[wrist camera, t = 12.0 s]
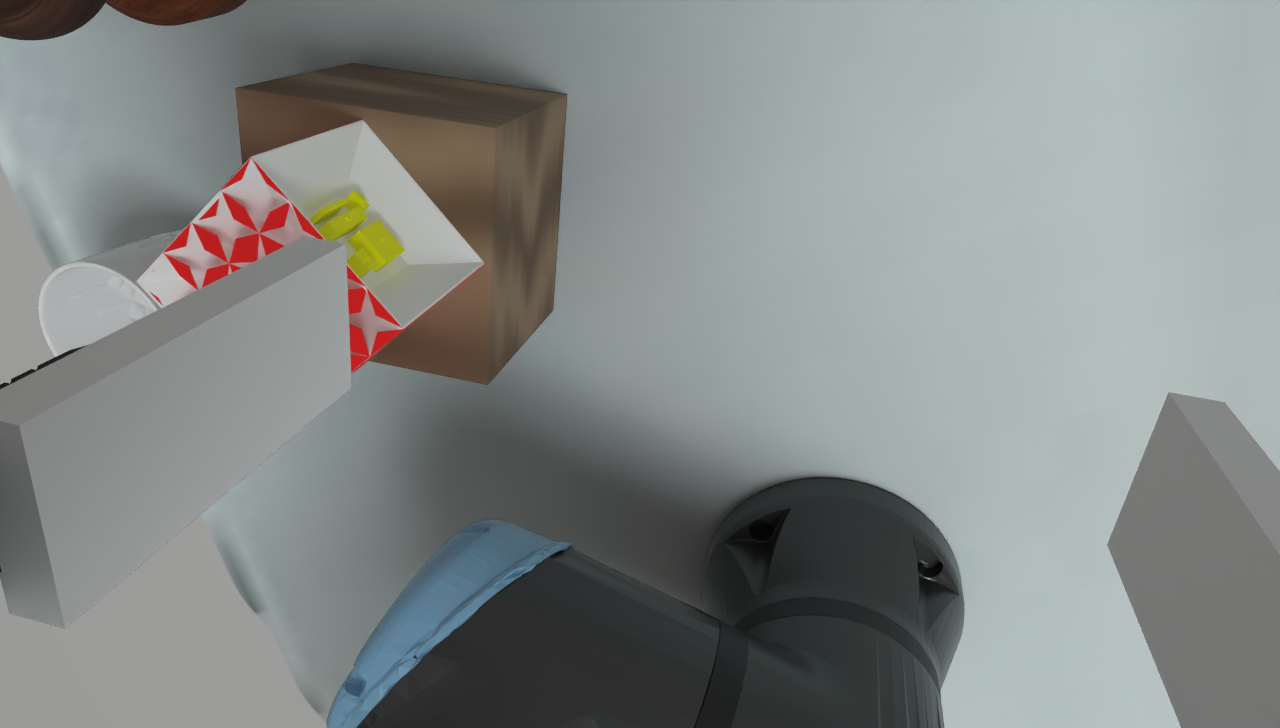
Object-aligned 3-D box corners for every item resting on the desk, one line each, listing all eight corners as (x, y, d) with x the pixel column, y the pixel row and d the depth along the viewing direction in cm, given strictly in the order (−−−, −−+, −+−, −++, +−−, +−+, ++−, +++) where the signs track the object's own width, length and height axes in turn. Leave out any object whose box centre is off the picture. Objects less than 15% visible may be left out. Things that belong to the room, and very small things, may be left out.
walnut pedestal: (553, 310, 51) (487, 384, 43) (359, 274, 53) (258, 338, 44) (567, 94, 46) (495, 127, 37) (352, 63, 48) (235, 88, 39)
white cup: (245, 195, 53) (120, 244, 44) (306, 316, 55) (199, 386, 47) (146, 231, 56) (9, 284, 47) (208, 345, 58) (89, 416, 49)
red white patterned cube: (485, 263, 40) (403, 329, 33) (374, 355, 43) (279, 433, 36) (361, 117, 39) (248, 154, 32) (256, 224, 42) (133, 279, 35)
